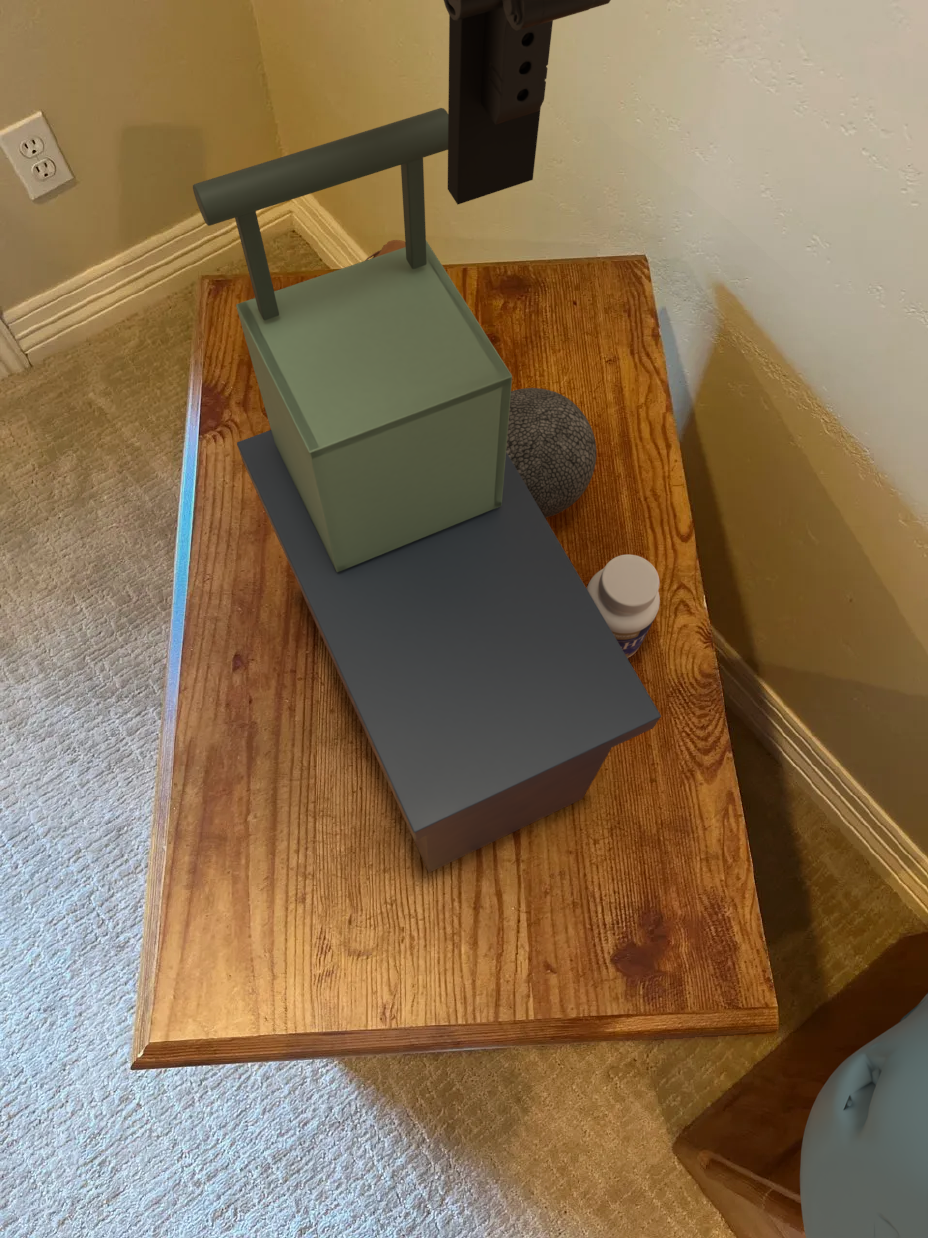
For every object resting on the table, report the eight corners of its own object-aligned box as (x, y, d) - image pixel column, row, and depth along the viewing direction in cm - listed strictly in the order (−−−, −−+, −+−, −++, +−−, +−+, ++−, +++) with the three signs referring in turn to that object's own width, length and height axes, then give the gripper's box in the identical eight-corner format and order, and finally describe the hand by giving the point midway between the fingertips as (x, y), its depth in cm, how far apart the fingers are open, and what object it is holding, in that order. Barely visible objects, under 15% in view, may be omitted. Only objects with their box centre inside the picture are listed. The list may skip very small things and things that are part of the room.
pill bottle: (598, 675, 71) (619, 628, 63) (561, 620, 73) (576, 566, 65) (656, 643, 72) (684, 592, 64) (618, 589, 74) (640, 533, 66)
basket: (535, 236, 37) (432, 88, 40) (266, 329, 34) (183, 165, 38) (509, 502, 53) (438, 382, 57) (328, 576, 51) (266, 446, 55)
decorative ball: (594, 538, 76) (616, 469, 67) (470, 547, 75) (474, 478, 66) (577, 434, 80) (595, 355, 71) (459, 442, 79) (461, 363, 70)
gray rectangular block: (601, 805, 67) (662, 716, 49) (421, 893, 64) (413, 833, 46) (450, 525, 76) (454, 361, 58) (286, 591, 73) (236, 441, 55)
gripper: (-98, -1407, 17) (184, -118, 37) (511, -1224, 9) (460, 350, 28) (285, -1394, 19) (363, -161, 38) (1147, -1228, 10) (679, 270, 29)
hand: (404, 55), depth 33 cm, fingers open, 13 cm apart
